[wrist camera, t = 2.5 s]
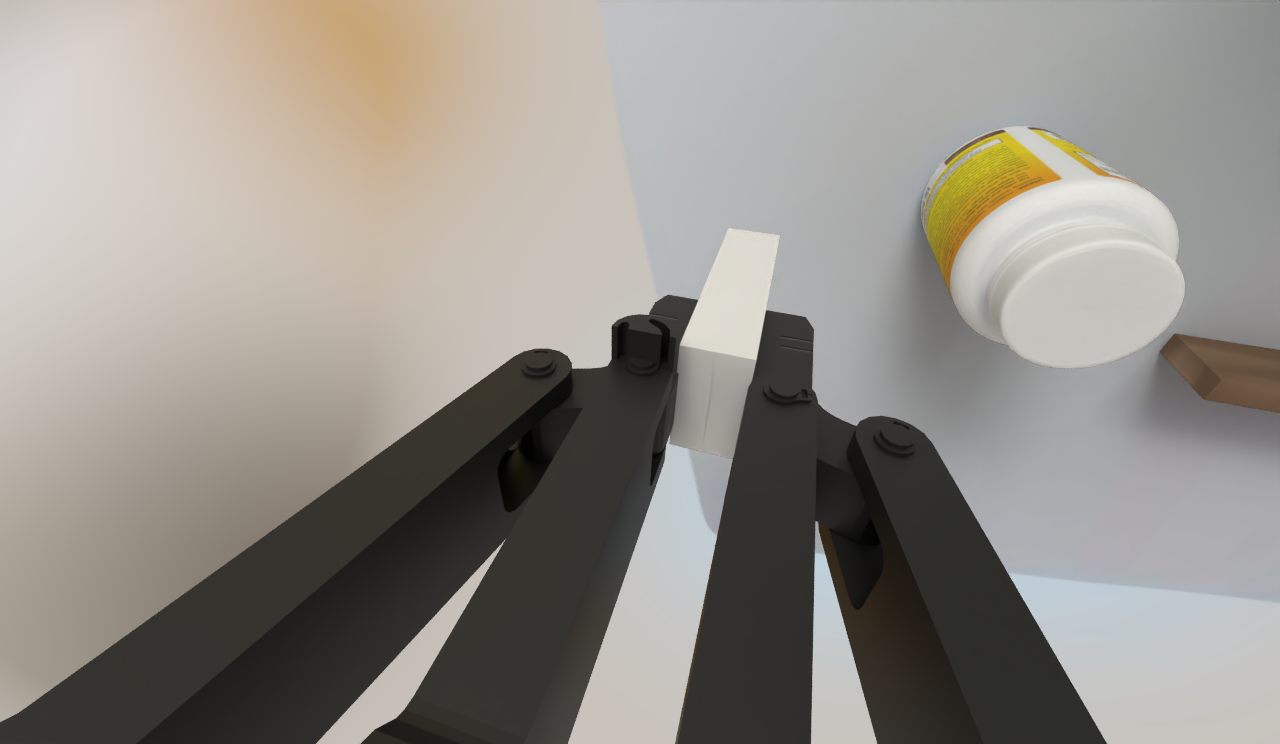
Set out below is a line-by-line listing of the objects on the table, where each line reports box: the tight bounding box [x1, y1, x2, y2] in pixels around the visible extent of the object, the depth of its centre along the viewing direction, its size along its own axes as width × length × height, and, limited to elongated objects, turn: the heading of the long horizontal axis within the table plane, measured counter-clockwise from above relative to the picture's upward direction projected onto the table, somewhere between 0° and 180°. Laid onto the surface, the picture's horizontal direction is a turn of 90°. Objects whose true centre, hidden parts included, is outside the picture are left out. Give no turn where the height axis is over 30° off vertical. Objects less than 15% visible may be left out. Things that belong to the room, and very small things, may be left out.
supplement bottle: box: [921, 126, 1185, 369], centre depth 17 cm, size 6×6×10 cm
